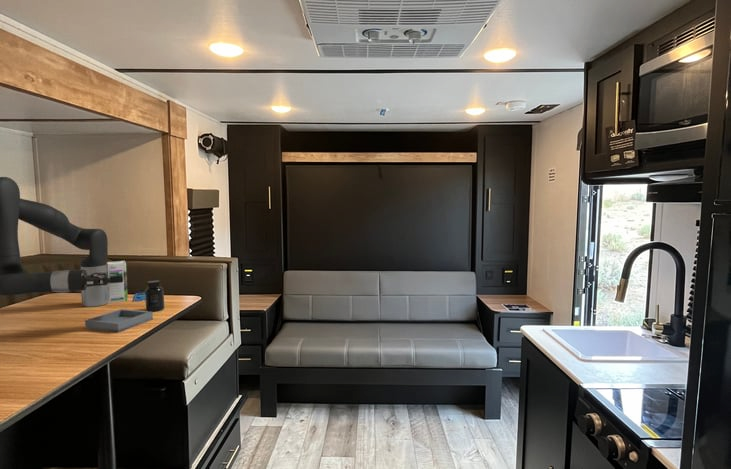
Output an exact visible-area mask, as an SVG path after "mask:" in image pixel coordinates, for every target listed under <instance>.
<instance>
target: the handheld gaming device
mask: <svg viewBox="0 0 731 469" xmlns="http://www.w3.org/2000/svg"><path fill="white" fill-rule="evenodd" d="M143 300H144V301H145V292H137V293H135V294H134V298H133V302H134V301H135V302H142V301H143Z"/></svg>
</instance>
